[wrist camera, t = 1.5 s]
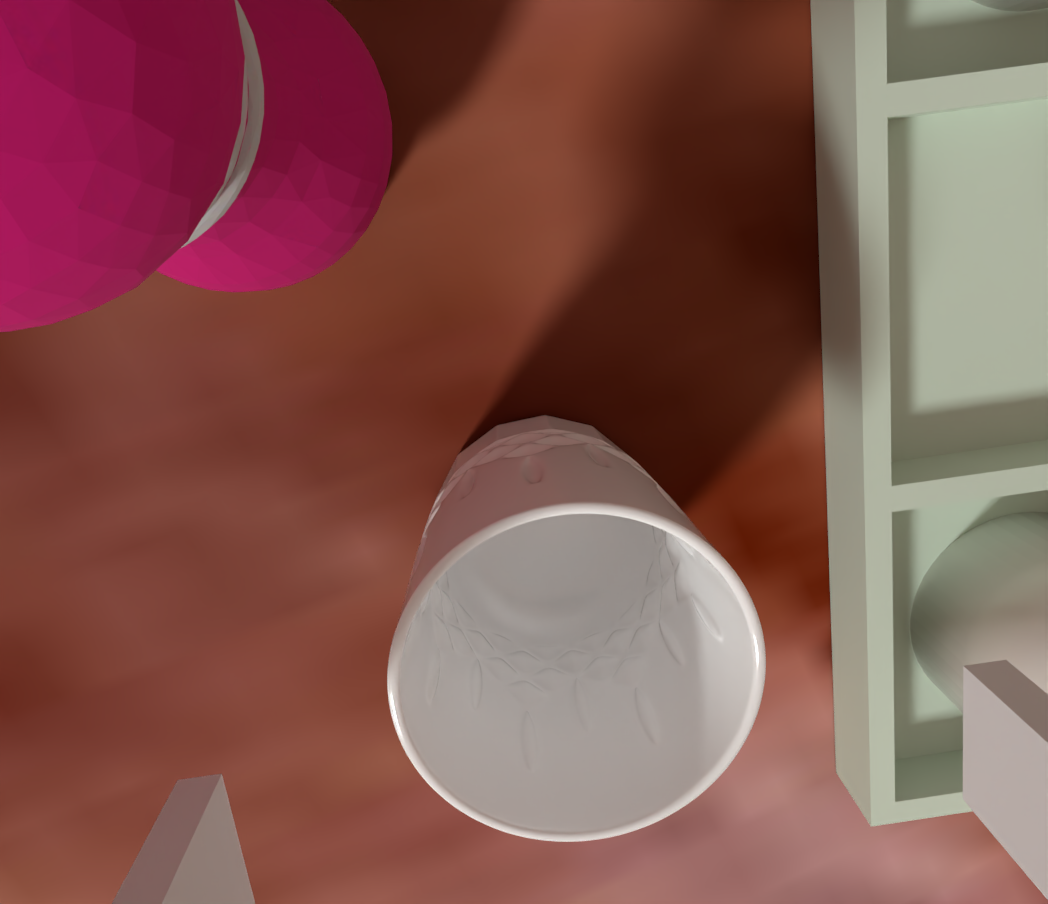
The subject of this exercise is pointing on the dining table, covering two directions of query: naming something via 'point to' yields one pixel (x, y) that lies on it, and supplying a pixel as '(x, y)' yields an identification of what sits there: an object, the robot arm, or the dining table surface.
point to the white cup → (569, 641)
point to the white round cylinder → (1014, 4)
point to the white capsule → (985, 603)
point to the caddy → (923, 346)
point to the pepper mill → (180, 147)
